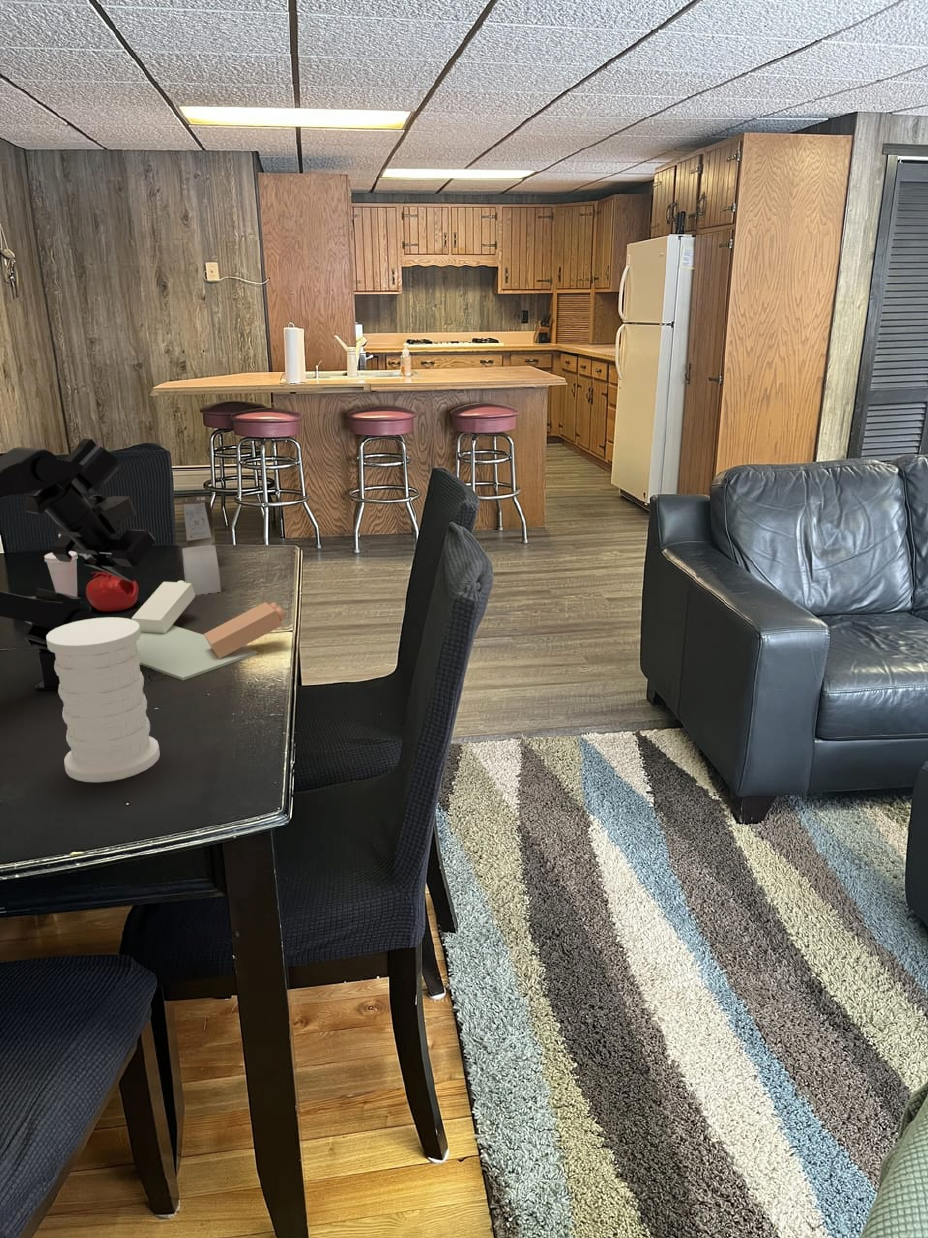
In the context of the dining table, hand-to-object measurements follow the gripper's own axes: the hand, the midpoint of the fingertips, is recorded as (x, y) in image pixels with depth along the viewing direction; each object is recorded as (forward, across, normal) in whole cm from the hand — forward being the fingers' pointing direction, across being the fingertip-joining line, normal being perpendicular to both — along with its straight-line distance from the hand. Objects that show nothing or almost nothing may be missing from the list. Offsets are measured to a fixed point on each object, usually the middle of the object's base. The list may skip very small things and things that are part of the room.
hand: (133, 579), depth 149 cm
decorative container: (-4, -27, +34) cm, 43 cm away
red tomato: (+20, +28, -7) cm, 35 cm away
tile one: (+14, +8, 0) cm, 16 cm away
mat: (+14, -1, +4) cm, 14 cm away
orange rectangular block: (+13, -11, +3) cm, 17 cm away
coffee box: (+39, +36, -35) cm, 64 cm away
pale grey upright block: (+30, +20, -21) cm, 41 cm away
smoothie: (+19, +42, -8) cm, 47 cm away
